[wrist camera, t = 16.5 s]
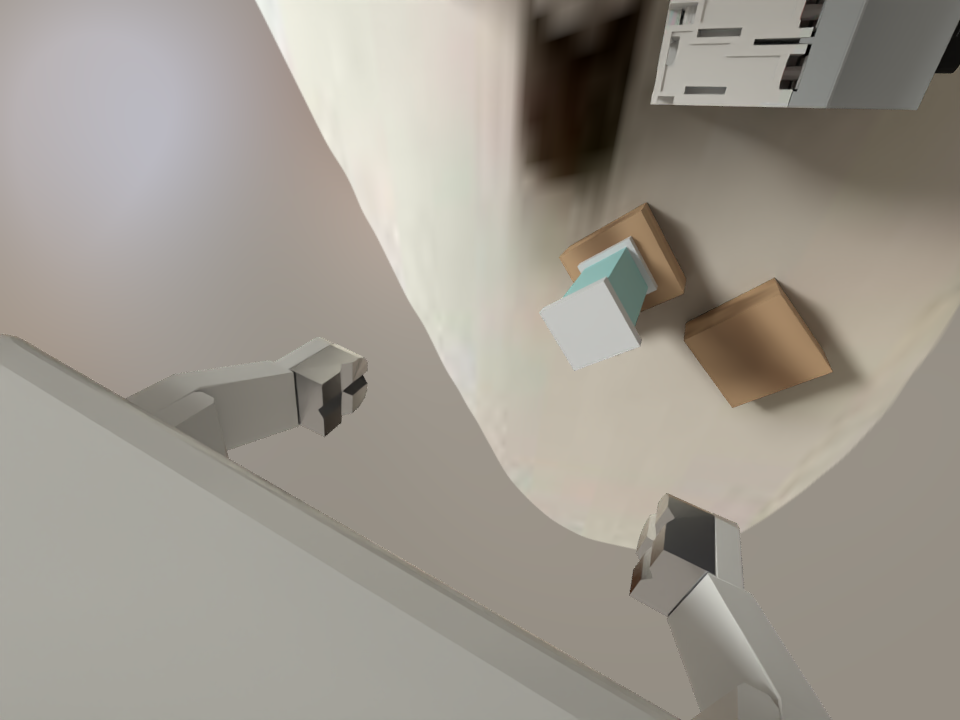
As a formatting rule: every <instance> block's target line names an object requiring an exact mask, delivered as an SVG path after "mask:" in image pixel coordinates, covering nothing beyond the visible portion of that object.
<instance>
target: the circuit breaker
mask: <svg viewBox="0 0 960 720" xmlns="http://www.w3.org/2000/svg"><path fill="white" fill-rule="evenodd" d="M959 65H960V0H670V4H669V9H668V14H667V19H666V25H665V30H664V35H663V40H662V46H661V51H660V56H659V61H658V67H657V70H658V71H657V76H656V81H655V86H654V91H653V93H652V98H651V103H650V104H661V105H701V106H746V107H791V108H848V109H894V110H917V109H918V107H919V105H920V103H921V101H922V99H923V96H924V94H925V92H926V90H927V88H928V86H929V84H930V82H931V79H932V77H933V75H934V73H953V72H954V71H955V70H956V69H957V68H958V66H959Z"/></svg>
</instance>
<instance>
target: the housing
mask: <svg viewBox="0 0 960 720" xmlns="http://www.w3.org/2000/svg"><path fill="white" fill-rule="evenodd" d="M577 267H578V269H579V271H580V272H581V274H580V276H579V277H578V278H577V280H576V281H575V282H574V283H573V285H572V286H571V287H570V289H569V290H568V291H567V293H566V294H565V295H564V297H563V298H562V299H560V300H558V301H556V302H554V303H552V304H550V305H547V306H545V307H543V309H542V310H541V311H540V312H539V313H540V315H541V317H542V318H543V320H544V322H545V323H546V325H547V327H548V328H549V330H550V332H551V333H552V335H553V337H554V338H555V340H556V342H557V343H558V345H559V346H560V348H561V350H562V351H563V353H564V355H565V356H566V358H567V360H568V361H569V363H570V365H571V366H572V368H573V370H574V371H575V370H578V369H581V368H583V367H586V366H589V365H591V364H594V363H597V362H600V361H602V360H605V359H608V358H610V357H613V356H616V355H618V354H621V353H624V352H627V351H629V350H632V349H635V348H637V347H640V345H641V341H642V339H641V337H640V336H639V334H638V332H637V330H636V328H635V325H636V322H637V319H638V316H639V313H640V310H641V307H642V304H643V301H644V299H645V296H646V294H649V293H651V292H653V291H655V290H657V287H658V286H657V284H656V282H655V280H654V278H653V276H652V274H651V272H650V271H649V269H648V267H647V265H646V263H645V261H644V259H643V257H642V255H641V254H640V252H639V250H638V248H637V246H636V244H635V242H634V240H633V239H632V237H631V236H630V237H628V238H626V239H624V240H622V241H620V242H619V243H617V244H615V245H613V246H611V247H609V248H607V249H606V250H604V251H602V252H600V253H598V254H596V255H594V256H592V257H591V258H589V259H587V260H585V261H583V262H581V263H580V264H579V265H578V266H577Z"/></svg>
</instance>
